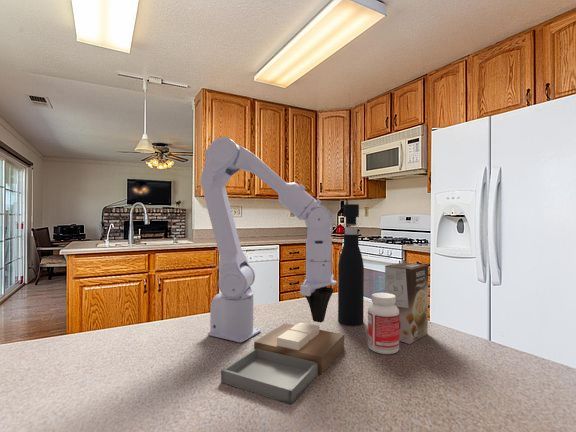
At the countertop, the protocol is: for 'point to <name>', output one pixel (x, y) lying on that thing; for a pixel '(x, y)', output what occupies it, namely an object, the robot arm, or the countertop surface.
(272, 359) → the tray
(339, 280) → the black water bottle
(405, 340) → the coffee box
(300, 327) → the tile
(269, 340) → the board
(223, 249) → the robot arm
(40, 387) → the countertop surface
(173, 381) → the countertop surface
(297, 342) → the tile
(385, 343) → the pill bottle
